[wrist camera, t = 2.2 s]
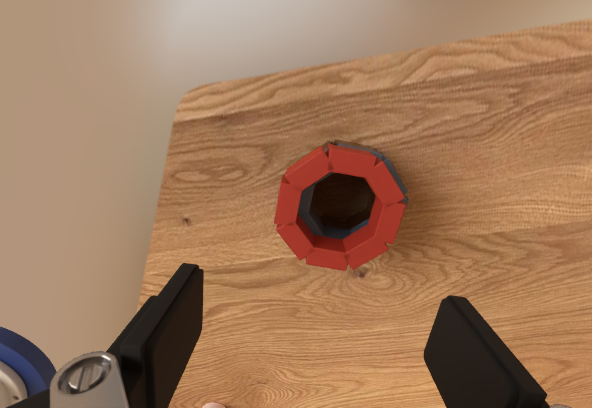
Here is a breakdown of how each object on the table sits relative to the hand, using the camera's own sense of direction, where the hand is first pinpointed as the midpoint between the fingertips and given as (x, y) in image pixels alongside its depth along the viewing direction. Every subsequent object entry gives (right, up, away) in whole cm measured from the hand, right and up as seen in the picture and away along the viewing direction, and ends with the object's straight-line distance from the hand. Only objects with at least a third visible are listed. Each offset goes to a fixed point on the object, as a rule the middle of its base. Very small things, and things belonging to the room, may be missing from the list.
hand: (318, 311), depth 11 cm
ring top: (+2, +4, +12) cm, 13 cm away
